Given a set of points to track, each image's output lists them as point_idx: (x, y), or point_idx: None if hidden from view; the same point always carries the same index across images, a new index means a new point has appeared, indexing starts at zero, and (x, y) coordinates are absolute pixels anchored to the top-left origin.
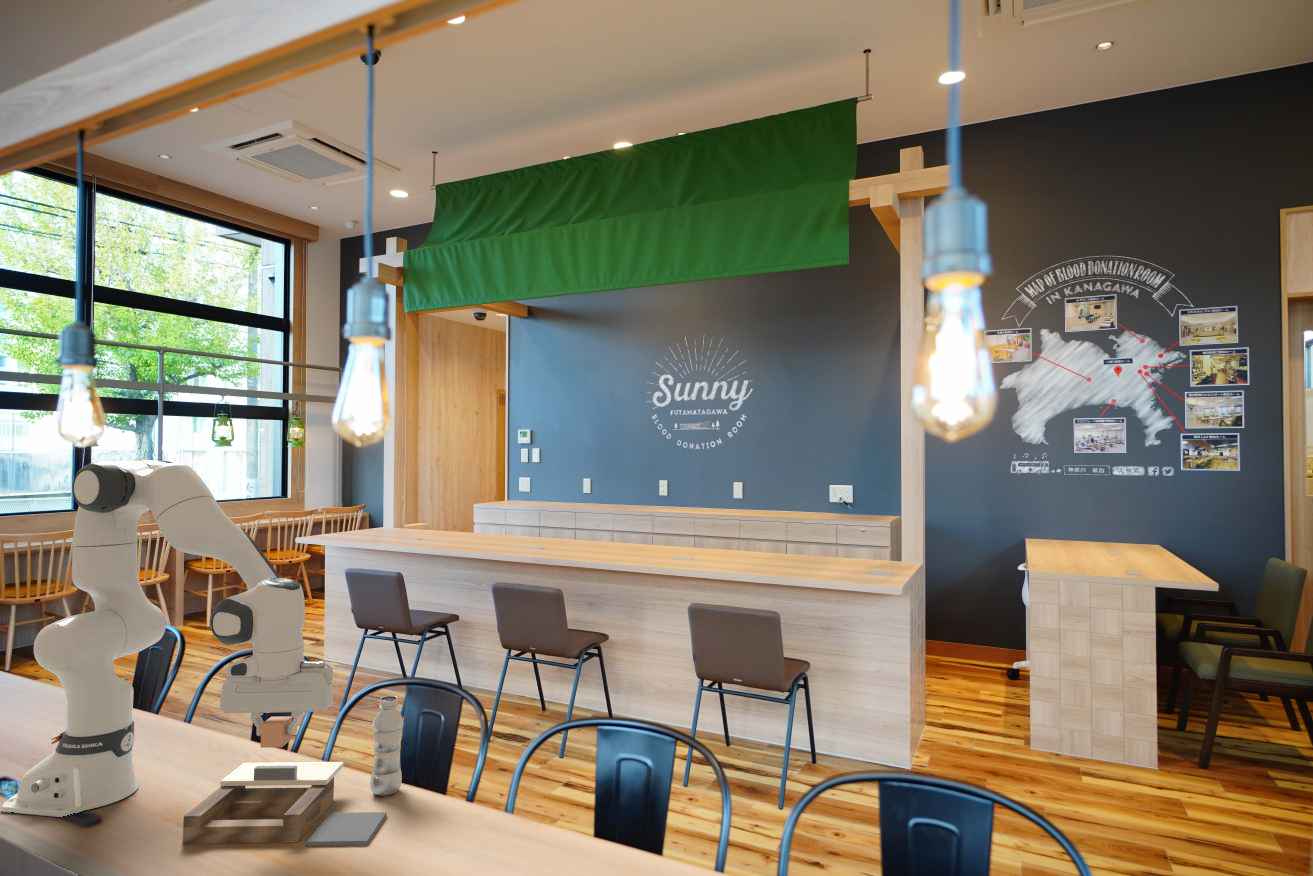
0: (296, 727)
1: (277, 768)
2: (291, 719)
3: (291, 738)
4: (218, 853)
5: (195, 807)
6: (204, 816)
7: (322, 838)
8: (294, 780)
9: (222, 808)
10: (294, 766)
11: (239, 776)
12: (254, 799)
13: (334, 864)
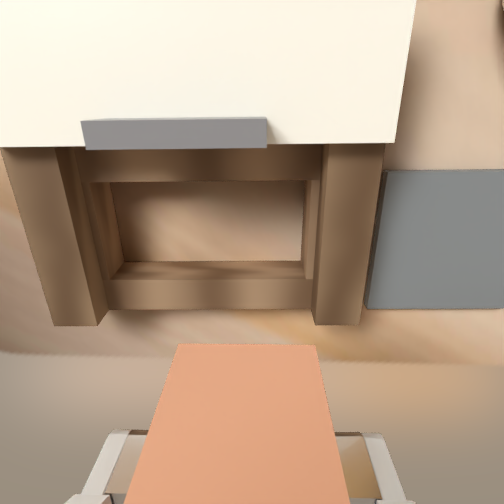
0: (391, 467)
1: (189, 148)
2: (344, 495)
3: (315, 351)
4: (191, 323)
5: (44, 284)
6: (97, 302)
7: (399, 297)
8: (267, 143)
9: (91, 218)
10: (258, 130)
11: (21, 101)
12: (148, 160)
13: (438, 361)
